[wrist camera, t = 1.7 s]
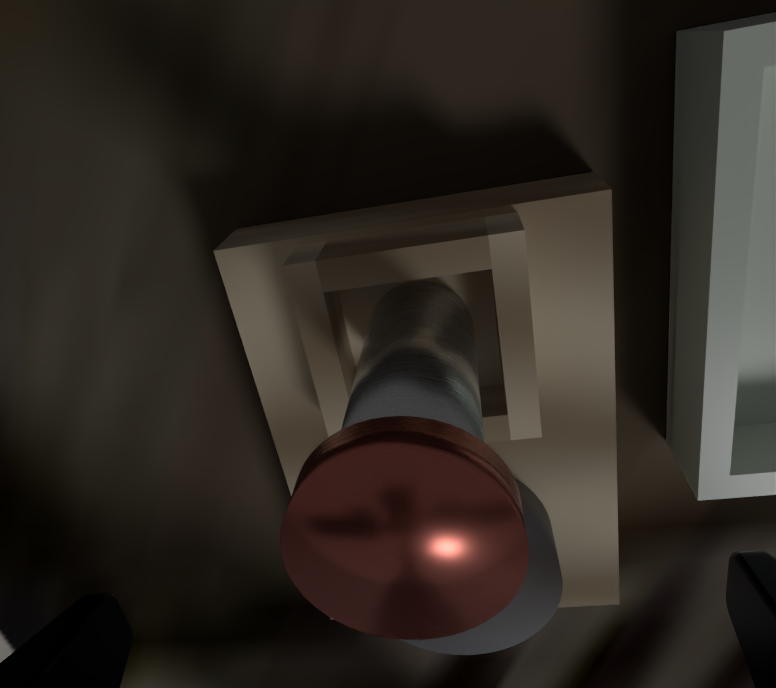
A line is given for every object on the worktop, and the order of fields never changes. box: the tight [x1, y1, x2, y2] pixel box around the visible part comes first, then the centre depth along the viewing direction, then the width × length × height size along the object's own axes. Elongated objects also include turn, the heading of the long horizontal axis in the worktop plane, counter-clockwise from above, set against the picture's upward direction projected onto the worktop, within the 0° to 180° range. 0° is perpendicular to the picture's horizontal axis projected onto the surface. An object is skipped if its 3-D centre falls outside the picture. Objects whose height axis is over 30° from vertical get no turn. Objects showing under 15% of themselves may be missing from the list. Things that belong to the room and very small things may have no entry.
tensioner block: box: [214, 172, 619, 655], centre depth 18 cm, size 14×10×5 cm
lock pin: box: [280, 281, 529, 640], centre depth 13 cm, size 4×4×8 cm
